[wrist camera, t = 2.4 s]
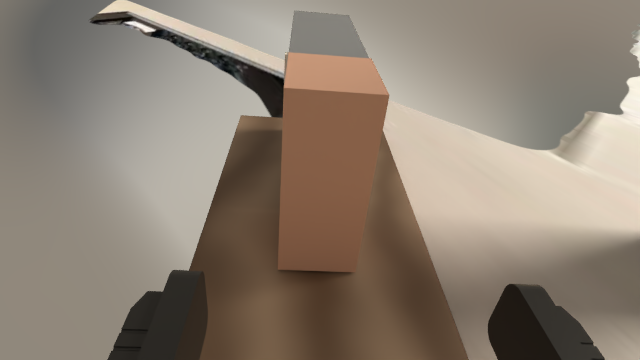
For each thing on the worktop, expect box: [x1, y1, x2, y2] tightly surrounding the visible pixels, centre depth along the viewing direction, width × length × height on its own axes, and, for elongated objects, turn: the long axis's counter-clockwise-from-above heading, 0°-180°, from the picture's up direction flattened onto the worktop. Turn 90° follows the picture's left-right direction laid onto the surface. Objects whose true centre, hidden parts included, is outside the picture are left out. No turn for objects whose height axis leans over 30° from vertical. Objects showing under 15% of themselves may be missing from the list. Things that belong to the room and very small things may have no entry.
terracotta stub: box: [278, 52, 389, 272], centre depth 24 cm, size 5×6×12 cm
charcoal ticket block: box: [280, 11, 369, 188], centre depth 33 cm, size 5×14×12 cm, turn 2°
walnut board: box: [189, 115, 469, 360], centre depth 32 cm, size 16×32×2 cm, turn 2°
